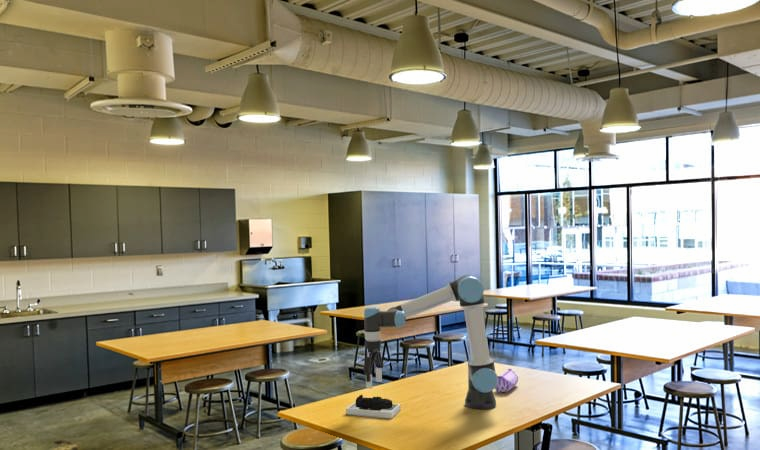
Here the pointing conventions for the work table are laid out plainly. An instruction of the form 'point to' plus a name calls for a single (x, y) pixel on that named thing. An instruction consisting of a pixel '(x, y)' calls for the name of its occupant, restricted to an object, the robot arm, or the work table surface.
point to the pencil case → (506, 381)
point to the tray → (371, 413)
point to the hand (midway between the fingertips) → (374, 384)
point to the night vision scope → (373, 403)
